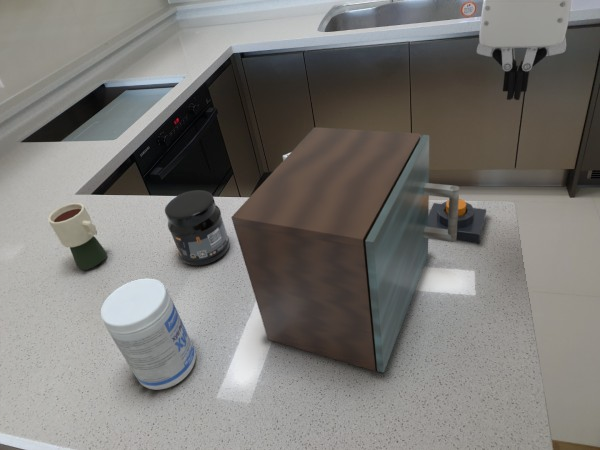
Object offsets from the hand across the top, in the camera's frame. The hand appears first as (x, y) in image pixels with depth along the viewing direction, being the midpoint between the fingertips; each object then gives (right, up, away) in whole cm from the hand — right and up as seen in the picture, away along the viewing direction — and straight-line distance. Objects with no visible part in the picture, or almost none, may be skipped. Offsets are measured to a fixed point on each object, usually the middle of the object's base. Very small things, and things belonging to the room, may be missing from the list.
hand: (514, 95), depth 64 cm
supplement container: (-49, -24, +31) cm, 63 cm away
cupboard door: (-11, -32, +9) cm, 35 cm away
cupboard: (-21, -30, +15) cm, 40 cm away
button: (-1, -16, +22) cm, 27 cm away
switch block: (0, -18, +25) cm, 31 cm away
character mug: (-74, -26, +34) cm, 86 cm away
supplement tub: (-51, -40, +8) cm, 66 cm away
